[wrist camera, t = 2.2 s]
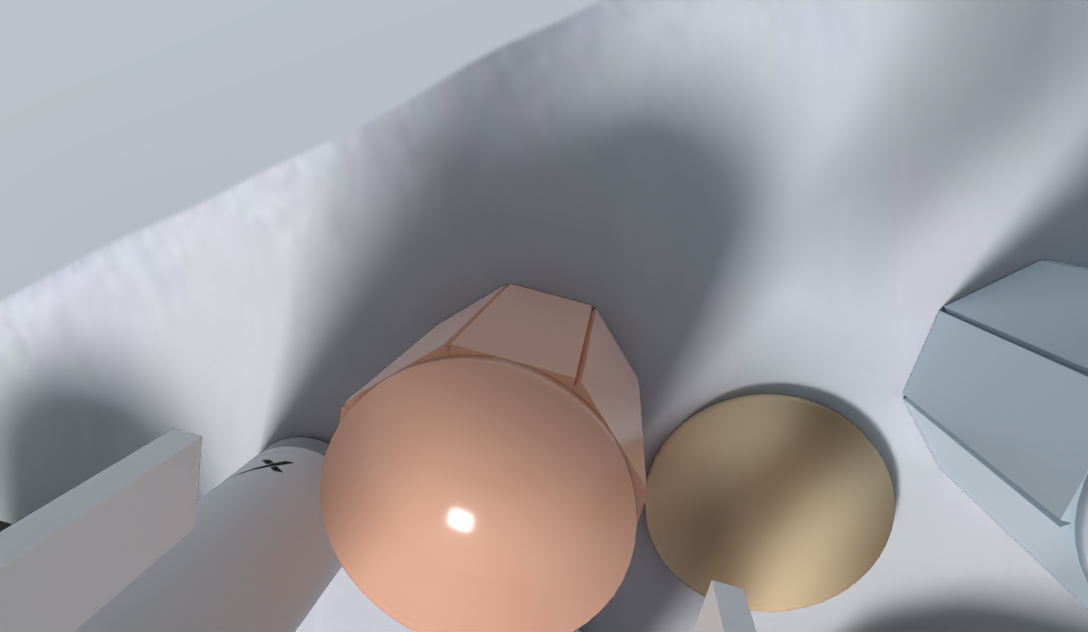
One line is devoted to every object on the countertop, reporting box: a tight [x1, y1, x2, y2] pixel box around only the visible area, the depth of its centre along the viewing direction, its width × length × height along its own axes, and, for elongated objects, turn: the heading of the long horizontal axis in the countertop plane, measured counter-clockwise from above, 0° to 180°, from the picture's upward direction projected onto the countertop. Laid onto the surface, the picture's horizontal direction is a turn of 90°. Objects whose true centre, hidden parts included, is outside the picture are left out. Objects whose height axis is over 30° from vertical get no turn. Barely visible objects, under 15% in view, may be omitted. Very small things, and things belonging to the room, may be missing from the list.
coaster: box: [645, 394, 895, 612], centre depth 25 cm, size 10×10×1 cm
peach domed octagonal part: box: [320, 284, 647, 632], centre depth 21 cm, size 9×9×9 cm
